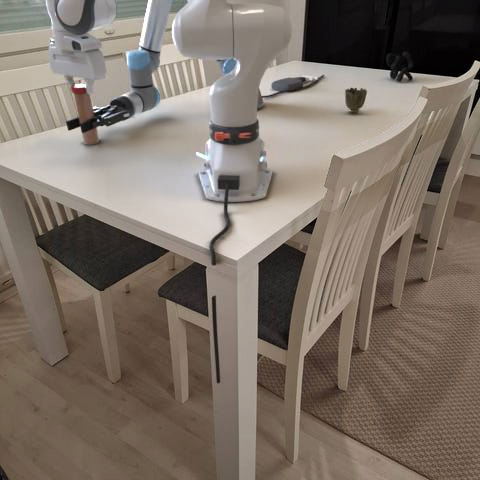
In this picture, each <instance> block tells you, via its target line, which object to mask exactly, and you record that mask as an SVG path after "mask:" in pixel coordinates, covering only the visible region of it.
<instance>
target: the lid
mask: <svg viewBox="0 0 480 480" xmlns="http://www.w3.org/2000/svg"><path fill="white" fill-rule="evenodd" d="M85 87H86V83H75V85H72V86H71V90H72V91H71V93H72V94H73V93H75V94H82V93H85V90H84V88H85Z"/></svg>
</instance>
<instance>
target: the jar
mask: <svg viewBox="0 0 480 480" xmlns="http://www.w3.org/2000/svg"><path fill="white" fill-rule="evenodd" d="M72 94H73V98H74V102H75V103H74V104H75V108H76V112H77V114H78V115H77V117H79V122H80V123H82V122H85V121H87V120H90V119H93V118H95V116H94V111H93V108H94V105H93V102H92V94H86V93H82V94H75V93H72ZM98 131H99V130H98V127H97V128H94V129H92V130H90V131H87V132H85V133H82V132H81V136H82V142H83V144H84V145H87V146H89V145H90V146H91V145H96V144H99V143H100V138H99V133H98Z"/></svg>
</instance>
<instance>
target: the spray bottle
mask: <svg viewBox="0 0 480 480" xmlns="http://www.w3.org/2000/svg"><path fill="white" fill-rule="evenodd" d="M318 78H319V77H316V76H311V75H302V76H297V77H296V76H295V77H286V78H285V77H284V78H280V79H277V80H274V81H272V82H271V85H270V87H271V89H272V90H275V91H278V92H280V91H285V90H288V91H290V90H293V89H296V88H300V87H304V83H306V81H307V82H308V81H311V82H312V81H315V80H318ZM318 81H319V80H318Z"/></svg>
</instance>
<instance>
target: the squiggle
mask: <svg viewBox="0 0 480 480" xmlns="http://www.w3.org/2000/svg"><path fill="white" fill-rule="evenodd" d="M401 57H402V59H401ZM391 59H392V60H391ZM393 60H394V61H393ZM385 61H386V64H387V67H390V68H391V70H390V72H389V78H390V79H391V80H395V79H396V81H397V82H399V83H400V82H402V81H403V79H404V76H406V78H407V80H408V81H412V80H413V79H414V77H413V75H412V74H411V73H410V72H409V71H410V70H412V69H413V68H414V64H413V61H412V57H411V54H410V53H409V52H408V51H403V53H402V54H401V55H396V54H394V53H392V52H390V53H387V55H386V57H385ZM406 62H407V65H408V66H407V67H405V66H404V65H405V64H406ZM400 70H401V71H400Z"/></svg>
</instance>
